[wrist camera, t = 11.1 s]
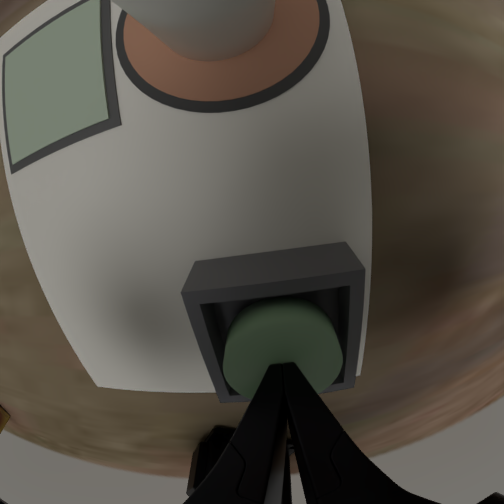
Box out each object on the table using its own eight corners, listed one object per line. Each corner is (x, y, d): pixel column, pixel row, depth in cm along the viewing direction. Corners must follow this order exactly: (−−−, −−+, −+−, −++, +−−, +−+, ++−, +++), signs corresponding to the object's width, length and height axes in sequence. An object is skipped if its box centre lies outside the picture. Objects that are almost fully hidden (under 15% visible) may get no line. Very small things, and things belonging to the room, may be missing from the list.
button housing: (343, 352, 13) (354, 387, 10) (225, 366, 13) (220, 402, 11) (345, 241, 10) (365, 268, 8) (195, 261, 11) (180, 292, 9)
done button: (332, 368, 11) (339, 395, 9) (237, 379, 11) (235, 407, 10) (334, 288, 9) (345, 314, 8) (216, 303, 9) (209, 331, 8)
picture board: (357, 368, 14) (361, 378, 13) (100, 381, 15) (96, 388, 14) (311, -67, 5) (313, -75, 4) (5, 39, 6) (-3, 38, 6)
